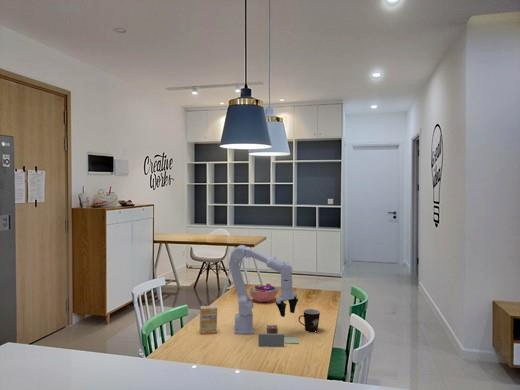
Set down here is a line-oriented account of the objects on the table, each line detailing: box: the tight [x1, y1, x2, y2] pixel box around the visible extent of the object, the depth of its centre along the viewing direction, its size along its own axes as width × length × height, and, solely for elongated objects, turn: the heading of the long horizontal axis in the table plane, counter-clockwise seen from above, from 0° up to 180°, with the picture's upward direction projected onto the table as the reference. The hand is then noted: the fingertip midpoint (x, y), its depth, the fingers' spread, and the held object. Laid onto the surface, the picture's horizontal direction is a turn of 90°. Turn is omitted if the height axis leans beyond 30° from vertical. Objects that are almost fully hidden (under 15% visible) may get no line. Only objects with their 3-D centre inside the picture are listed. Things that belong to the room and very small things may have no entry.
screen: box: [257, 333, 285, 347], centre depth 185 cm, size 12×1×6 cm, turn 92°
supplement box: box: [199, 305, 218, 335], centre depth 200 cm, size 8×5×13 cm, turn 105°
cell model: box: [248, 283, 280, 303], centre depth 260 cm, size 17×20×11 cm
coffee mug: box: [298, 308, 321, 333], centre depth 206 cm, size 12×9×10 cm
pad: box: [284, 336, 300, 344], centre depth 191 cm, size 7×7×1 cm
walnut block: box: [266, 324, 279, 334], centre depth 194 cm, size 5×5×6 cm
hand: (287, 314), depth 200 cm, fingers open, 7 cm apart
